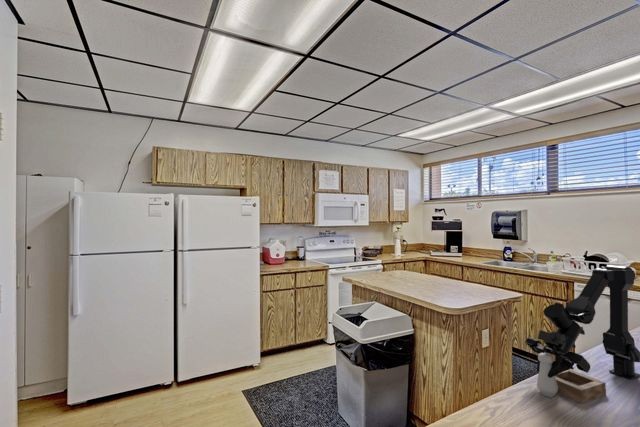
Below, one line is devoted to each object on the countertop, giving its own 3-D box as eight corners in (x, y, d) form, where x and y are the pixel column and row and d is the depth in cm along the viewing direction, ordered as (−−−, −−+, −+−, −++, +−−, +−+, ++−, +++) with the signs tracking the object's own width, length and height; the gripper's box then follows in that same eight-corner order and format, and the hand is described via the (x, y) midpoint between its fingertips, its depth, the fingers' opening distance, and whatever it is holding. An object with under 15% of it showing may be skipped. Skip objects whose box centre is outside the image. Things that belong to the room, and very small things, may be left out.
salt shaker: (562, 399, 104) (559, 358, 104) (542, 397, 105) (539, 357, 106) (552, 389, 110) (550, 351, 110) (534, 388, 111) (532, 350, 111)
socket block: (567, 379, 117) (566, 367, 117) (606, 395, 106) (605, 382, 106) (544, 385, 113) (543, 374, 113) (582, 403, 101) (581, 390, 102)
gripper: (527, 314, 118) (505, 349, 115) (581, 329, 101) (557, 371, 97) (544, 333, 121) (523, 368, 117) (600, 351, 103) (578, 393, 99)
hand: (543, 374), depth 107 cm, fingers closed on salt shaker, 3 cm apart
